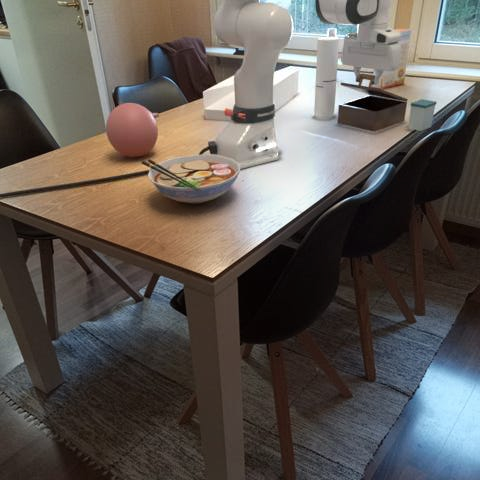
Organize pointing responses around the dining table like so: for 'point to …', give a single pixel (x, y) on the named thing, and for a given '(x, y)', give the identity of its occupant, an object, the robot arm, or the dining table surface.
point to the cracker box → (399, 74)
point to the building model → (225, 94)
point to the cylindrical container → (326, 76)
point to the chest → (372, 113)
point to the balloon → (132, 129)
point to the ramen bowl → (194, 177)
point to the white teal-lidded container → (421, 114)
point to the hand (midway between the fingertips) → (366, 83)
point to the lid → (371, 90)
